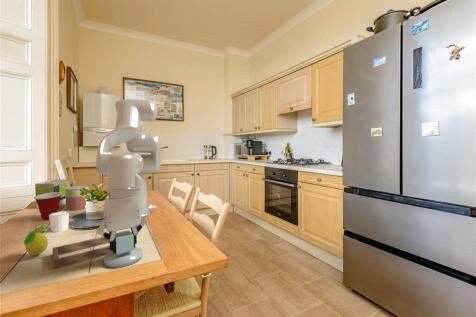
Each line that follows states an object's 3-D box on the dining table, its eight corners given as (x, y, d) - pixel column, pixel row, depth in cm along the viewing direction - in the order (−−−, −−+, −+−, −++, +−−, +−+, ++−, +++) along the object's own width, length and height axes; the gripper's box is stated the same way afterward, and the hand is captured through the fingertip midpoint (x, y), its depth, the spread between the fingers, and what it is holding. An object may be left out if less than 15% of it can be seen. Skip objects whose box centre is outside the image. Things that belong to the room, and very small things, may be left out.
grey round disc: (136, 247, 81) (136, 243, 81) (147, 259, 73) (147, 255, 73) (100, 257, 74) (100, 253, 74) (108, 272, 66) (108, 267, 65)
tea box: (54, 202, 144) (53, 179, 143) (71, 202, 145) (70, 179, 144) (35, 209, 129) (34, 183, 128) (54, 208, 130) (53, 182, 129)
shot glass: (58, 233, 94) (57, 216, 94) (45, 231, 95) (44, 215, 95) (73, 227, 101) (73, 211, 100) (60, 226, 102) (60, 210, 102)
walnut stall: (116, 239, 88) (116, 233, 88) (124, 249, 79) (124, 242, 79) (52, 255, 75) (52, 247, 75) (54, 269, 67) (53, 260, 67)
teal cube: (129, 244, 77) (128, 230, 77) (133, 249, 73) (133, 234, 73) (112, 249, 74) (112, 233, 73) (116, 254, 70) (116, 238, 70)
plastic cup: (29, 220, 110) (28, 195, 109) (54, 214, 120) (53, 191, 119) (43, 223, 106) (42, 197, 105) (68, 216, 116) (67, 193, 115)
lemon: (48, 248, 80) (47, 220, 79) (52, 254, 76) (51, 224, 76) (22, 256, 75) (20, 226, 74) (25, 261, 71) (23, 230, 70)
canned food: (82, 204, 139) (81, 185, 138) (93, 207, 134) (93, 186, 133) (61, 209, 129) (60, 188, 128) (73, 212, 124) (72, 190, 123)
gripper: (145, 188, 80) (146, 238, 82) (88, 194, 69) (90, 253, 70) (153, 191, 75) (154, 245, 76) (92, 199, 64) (94, 262, 65)
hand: (123, 248), depth 73 cm, fingers closed on teal cube, 4 cm apart
